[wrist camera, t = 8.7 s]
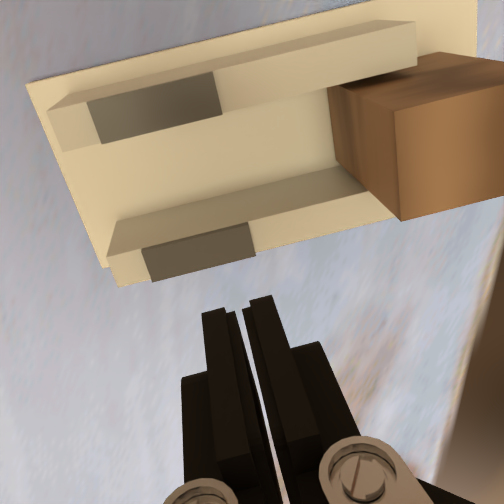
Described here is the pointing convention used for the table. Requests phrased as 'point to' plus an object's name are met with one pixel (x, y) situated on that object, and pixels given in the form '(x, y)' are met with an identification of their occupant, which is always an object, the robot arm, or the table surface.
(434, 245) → the table surface
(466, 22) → the chute
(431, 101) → the block
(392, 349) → the table surface
